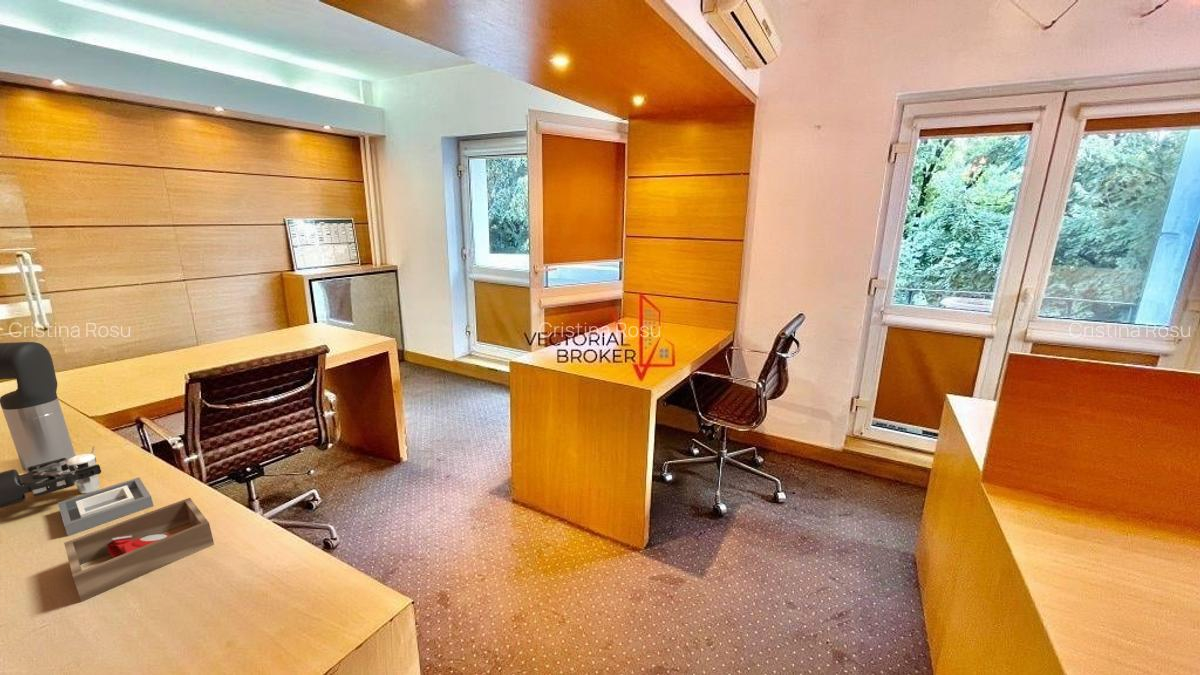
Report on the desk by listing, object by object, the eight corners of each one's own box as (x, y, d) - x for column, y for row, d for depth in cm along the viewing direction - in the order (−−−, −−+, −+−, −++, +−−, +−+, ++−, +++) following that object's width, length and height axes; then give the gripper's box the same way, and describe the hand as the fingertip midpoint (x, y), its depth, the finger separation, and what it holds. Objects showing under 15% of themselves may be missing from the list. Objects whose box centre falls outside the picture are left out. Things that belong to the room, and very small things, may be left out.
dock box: (60, 512, 101) (57, 502, 101) (141, 486, 111) (139, 477, 111) (67, 536, 94) (64, 525, 93) (153, 505, 104) (150, 496, 103)
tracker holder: (189, 527, 95) (168, 545, 86) (185, 549, 94) (164, 570, 85) (110, 530, 89) (79, 550, 80) (106, 553, 89) (75, 576, 80)
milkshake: (112, 483, 113) (102, 446, 110) (87, 495, 107) (75, 457, 105) (96, 482, 113) (85, 445, 110) (70, 494, 108) (57, 456, 105)
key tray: (71, 565, 86) (63, 542, 84) (194, 517, 100) (189, 497, 98) (81, 601, 78) (73, 577, 76) (214, 544, 91) (209, 522, 90)
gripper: (-20, 490, 92) (98, 458, 105) (-20, 467, 101) (89, 440, 114) (-8, 522, 94) (106, 486, 107) (-9, 497, 103) (97, 467, 115)
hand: (97, 463), depth 110 cm, fingers open, 7 cm apart
